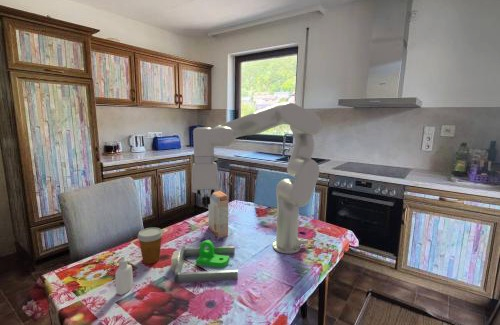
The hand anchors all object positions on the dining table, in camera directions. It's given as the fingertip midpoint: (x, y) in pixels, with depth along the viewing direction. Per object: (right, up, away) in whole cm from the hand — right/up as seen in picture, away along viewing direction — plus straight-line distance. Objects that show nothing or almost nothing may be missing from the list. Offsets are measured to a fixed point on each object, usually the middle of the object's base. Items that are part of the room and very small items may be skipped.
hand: (206, 206), depth 103 cm
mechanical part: (+2, -24, +3) cm, 24 cm away
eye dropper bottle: (-25, -26, -15) cm, 39 cm away
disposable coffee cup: (-23, -23, +4) cm, 33 cm away
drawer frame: (-1, -23, -1) cm, 23 cm away
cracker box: (+1, -19, +32) cm, 37 cm away
